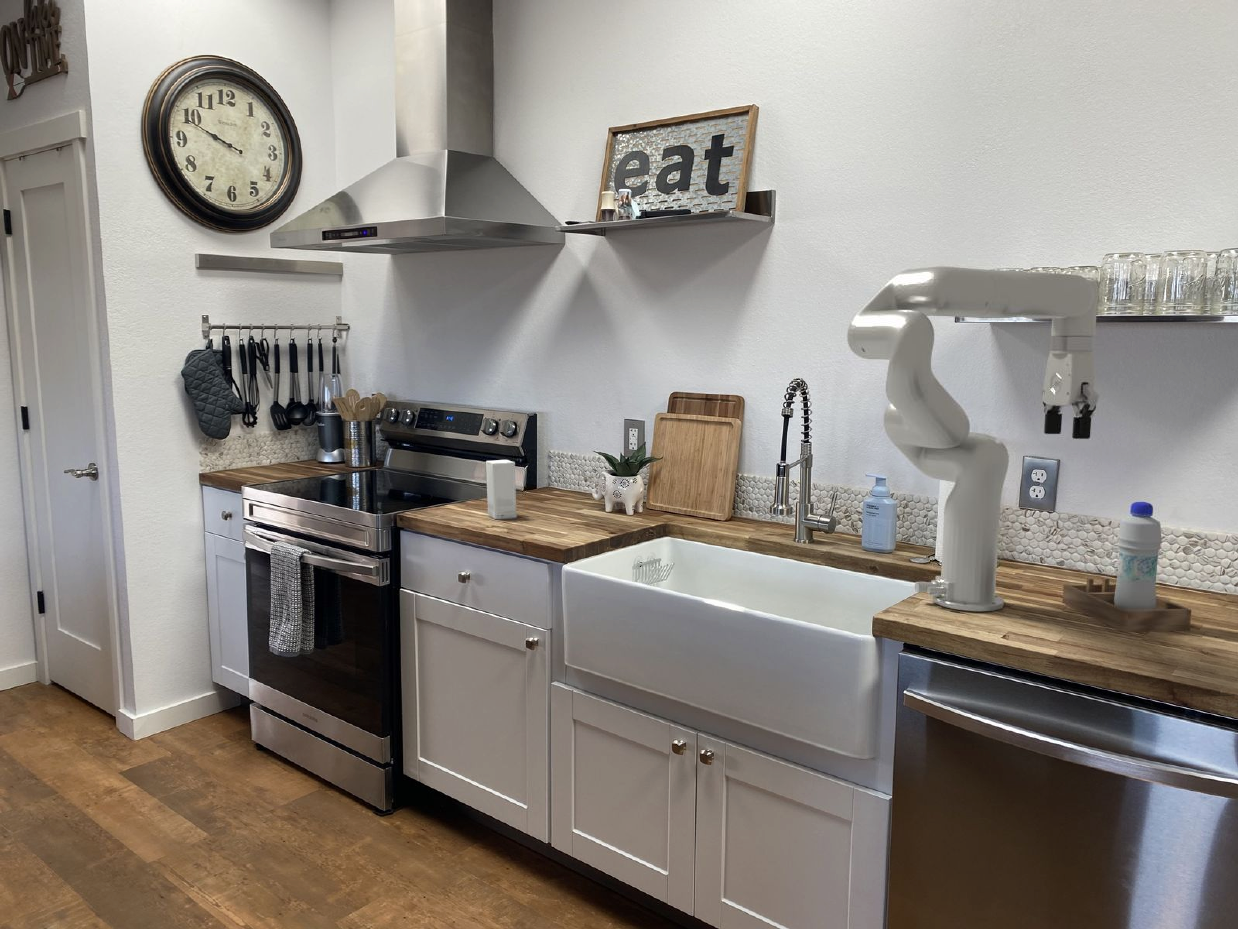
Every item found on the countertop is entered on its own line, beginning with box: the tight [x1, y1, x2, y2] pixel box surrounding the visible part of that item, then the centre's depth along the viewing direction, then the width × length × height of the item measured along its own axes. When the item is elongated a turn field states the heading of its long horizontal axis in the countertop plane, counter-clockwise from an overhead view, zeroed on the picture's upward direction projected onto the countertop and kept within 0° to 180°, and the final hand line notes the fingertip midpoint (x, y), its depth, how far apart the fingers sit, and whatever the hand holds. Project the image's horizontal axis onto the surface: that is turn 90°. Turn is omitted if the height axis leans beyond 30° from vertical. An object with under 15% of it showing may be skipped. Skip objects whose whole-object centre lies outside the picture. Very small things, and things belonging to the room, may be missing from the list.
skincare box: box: [485, 459, 518, 520], centre depth 259 cm, size 8×7×16 cm
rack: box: [1062, 577, 1192, 633], centre depth 166 cm, size 12×18×5 cm, turn 5°
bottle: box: [1114, 501, 1163, 610], centre depth 162 cm, size 7×7×20 cm
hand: (1066, 436), depth 180 cm, fingers open, 9 cm apart
